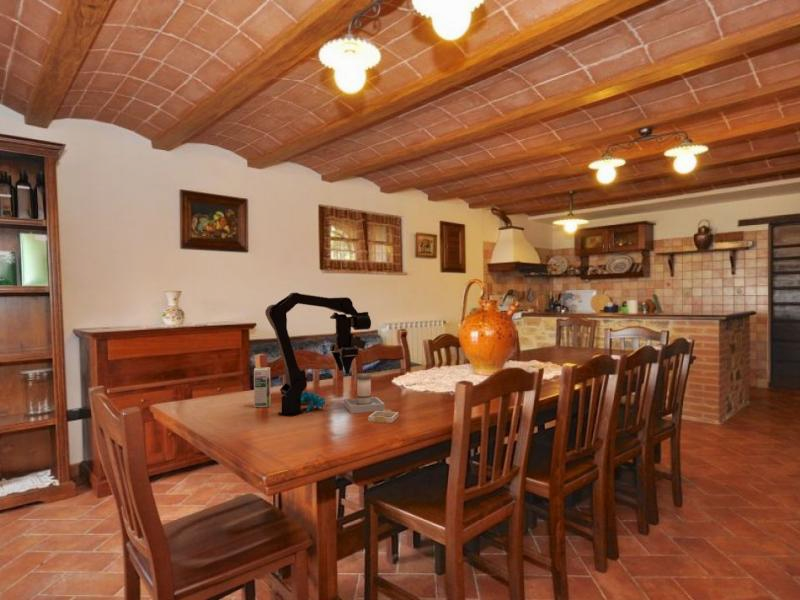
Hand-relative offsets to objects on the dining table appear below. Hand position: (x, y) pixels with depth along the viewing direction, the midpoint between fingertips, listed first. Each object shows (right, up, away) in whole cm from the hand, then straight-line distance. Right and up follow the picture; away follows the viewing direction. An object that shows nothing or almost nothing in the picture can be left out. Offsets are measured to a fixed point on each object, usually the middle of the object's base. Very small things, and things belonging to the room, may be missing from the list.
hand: (344, 372), depth 176 cm
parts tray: (+8, -13, -2) cm, 15 cm away
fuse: (+8, -13, -2) cm, 15 cm away
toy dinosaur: (-12, -14, -4) cm, 18 cm away
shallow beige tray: (+15, -13, -18) cm, 27 cm away
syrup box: (-32, -14, +3) cm, 34 cm away
